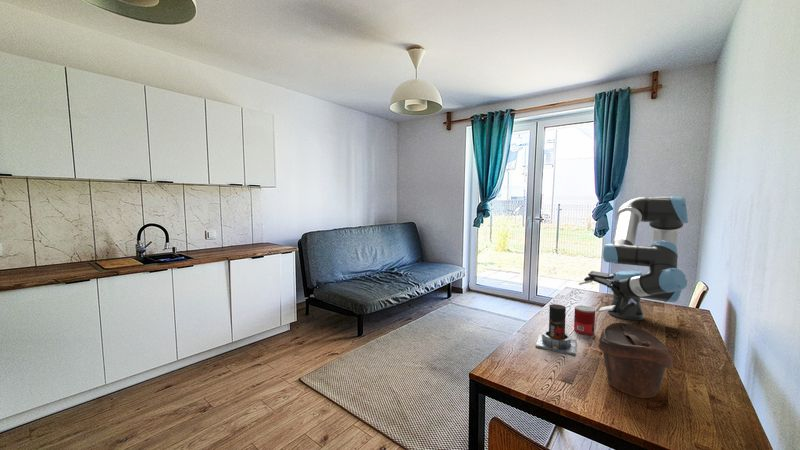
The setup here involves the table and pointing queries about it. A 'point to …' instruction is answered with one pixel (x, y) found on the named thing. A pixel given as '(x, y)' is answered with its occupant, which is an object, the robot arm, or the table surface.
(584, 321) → the canned food
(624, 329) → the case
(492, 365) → the table surface
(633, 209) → the robot arm
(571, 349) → the hub socket
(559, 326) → the deodorant
